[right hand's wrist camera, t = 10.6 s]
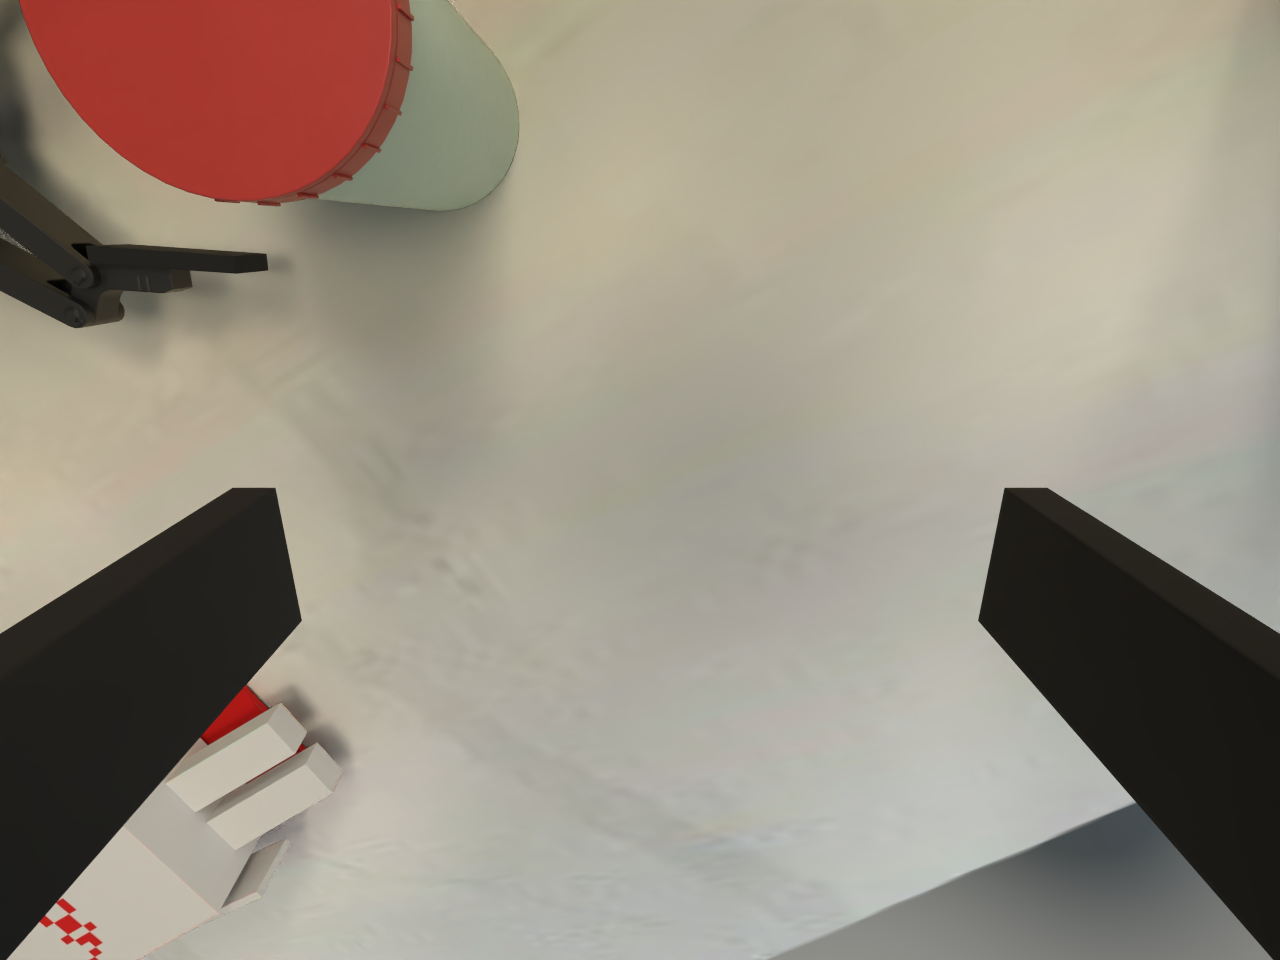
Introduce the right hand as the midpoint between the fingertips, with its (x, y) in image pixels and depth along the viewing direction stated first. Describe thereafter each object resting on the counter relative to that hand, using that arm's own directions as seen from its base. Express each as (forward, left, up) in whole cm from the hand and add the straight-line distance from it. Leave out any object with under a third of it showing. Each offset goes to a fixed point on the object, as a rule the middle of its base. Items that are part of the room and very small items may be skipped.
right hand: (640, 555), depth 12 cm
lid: (-6, -14, -9) cm, 18 cm away
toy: (+43, -21, -27) cm, 55 cm away
